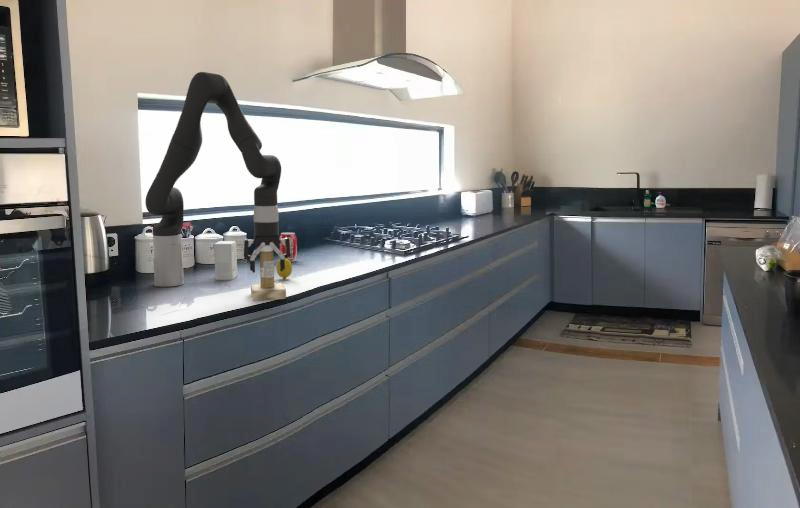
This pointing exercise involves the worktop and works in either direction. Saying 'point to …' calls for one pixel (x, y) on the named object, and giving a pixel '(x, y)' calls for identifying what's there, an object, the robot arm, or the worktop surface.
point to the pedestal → (268, 292)
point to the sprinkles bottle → (267, 267)
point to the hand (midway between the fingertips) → (267, 271)
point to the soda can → (293, 245)
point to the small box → (225, 260)
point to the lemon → (286, 271)
